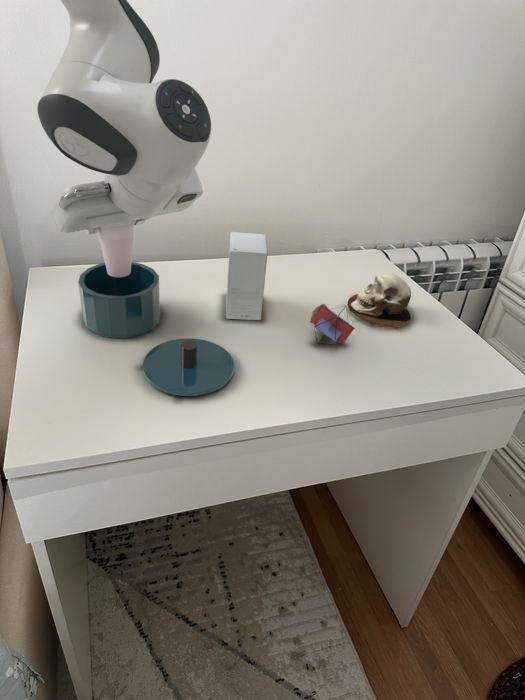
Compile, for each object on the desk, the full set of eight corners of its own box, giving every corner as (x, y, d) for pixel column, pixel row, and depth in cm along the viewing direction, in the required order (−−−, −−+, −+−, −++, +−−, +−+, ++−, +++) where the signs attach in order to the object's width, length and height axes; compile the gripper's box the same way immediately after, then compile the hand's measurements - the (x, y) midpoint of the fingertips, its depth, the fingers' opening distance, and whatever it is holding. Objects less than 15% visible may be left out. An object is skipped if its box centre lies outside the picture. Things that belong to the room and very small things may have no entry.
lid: (190, 412, 73) (191, 386, 71) (123, 371, 80) (121, 345, 77) (251, 368, 83) (253, 343, 80) (186, 334, 89) (187, 310, 86)
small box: (261, 321, 94) (268, 253, 87) (225, 319, 94) (229, 251, 86) (260, 298, 101) (266, 233, 93) (226, 296, 100) (229, 231, 93)
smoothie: (133, 260, 90) (127, 177, 82) (144, 278, 85) (139, 192, 77) (94, 265, 87) (84, 180, 79) (103, 284, 83) (94, 195, 75)
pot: (118, 347, 84) (115, 307, 80) (68, 317, 90) (62, 278, 86) (175, 317, 93) (174, 278, 88) (125, 291, 98) (122, 254, 94)
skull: (356, 326, 93) (354, 268, 94) (342, 334, 103) (341, 282, 105) (422, 326, 94) (420, 270, 95) (402, 335, 104) (400, 283, 106)
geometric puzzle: (366, 330, 91) (346, 289, 88) (353, 350, 85) (332, 306, 83) (331, 340, 95) (311, 301, 93) (316, 359, 90) (295, 319, 88)
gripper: (73, 216, 65) (54, 258, 76) (213, 191, 76) (178, 231, 88) (54, 169, 65) (38, 217, 77) (196, 151, 76) (163, 196, 88)
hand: (113, 224), depth 82 cm, fingers closed on smoothie, 6 cm apart
